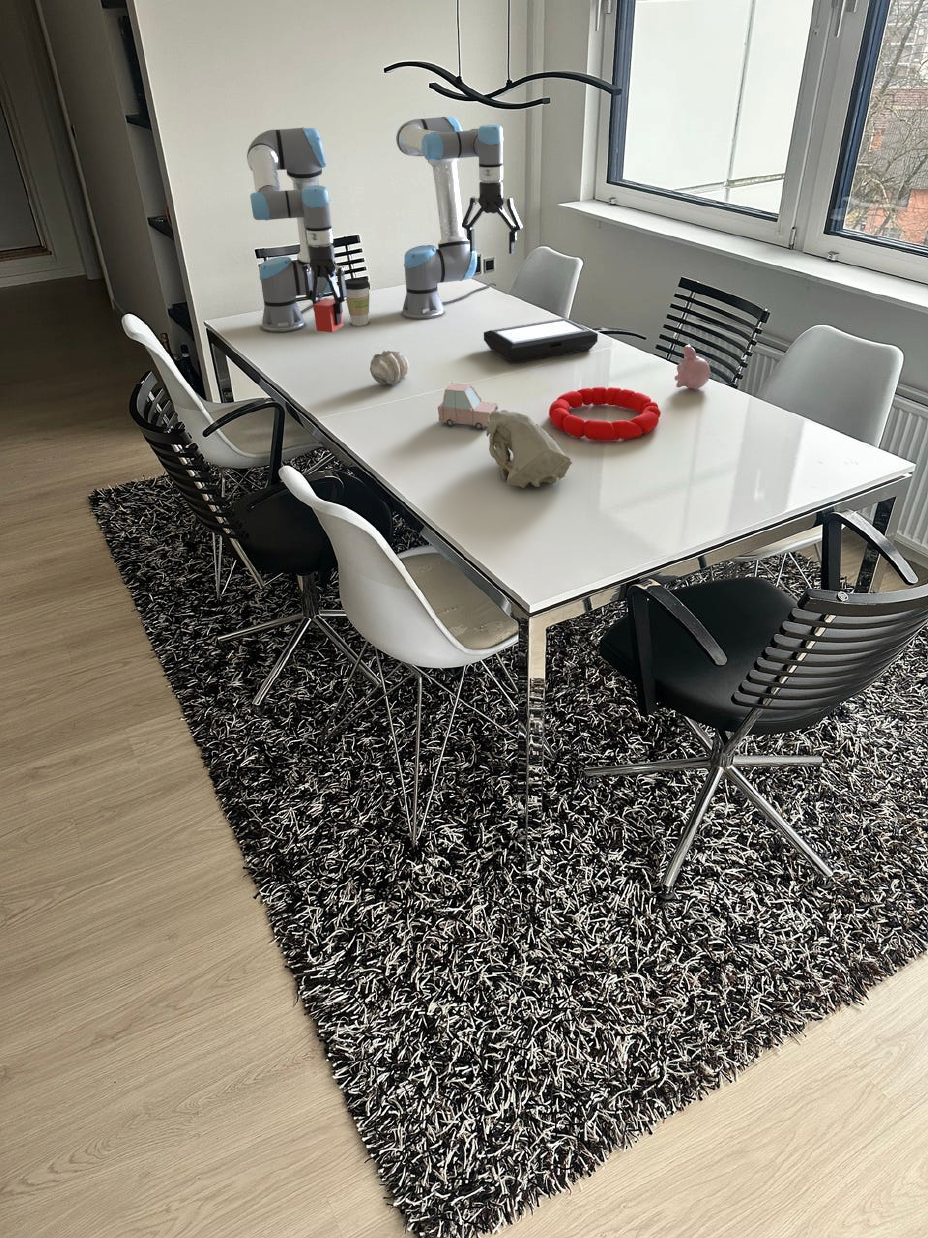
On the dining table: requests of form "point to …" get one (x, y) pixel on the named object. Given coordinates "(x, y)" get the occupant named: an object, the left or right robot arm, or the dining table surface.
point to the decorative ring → (604, 428)
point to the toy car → (465, 406)
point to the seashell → (389, 367)
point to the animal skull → (525, 450)
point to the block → (326, 316)
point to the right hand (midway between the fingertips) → (491, 251)
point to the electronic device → (540, 340)
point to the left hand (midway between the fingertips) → (329, 323)
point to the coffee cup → (358, 300)
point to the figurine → (692, 370)
